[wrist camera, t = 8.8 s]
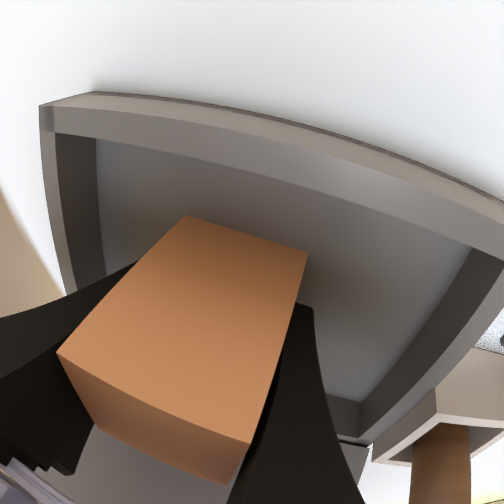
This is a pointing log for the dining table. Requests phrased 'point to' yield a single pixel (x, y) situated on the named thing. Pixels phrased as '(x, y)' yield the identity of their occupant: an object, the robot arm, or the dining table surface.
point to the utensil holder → (498, 502)
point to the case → (315, 272)
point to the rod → (441, 466)
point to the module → (188, 346)
